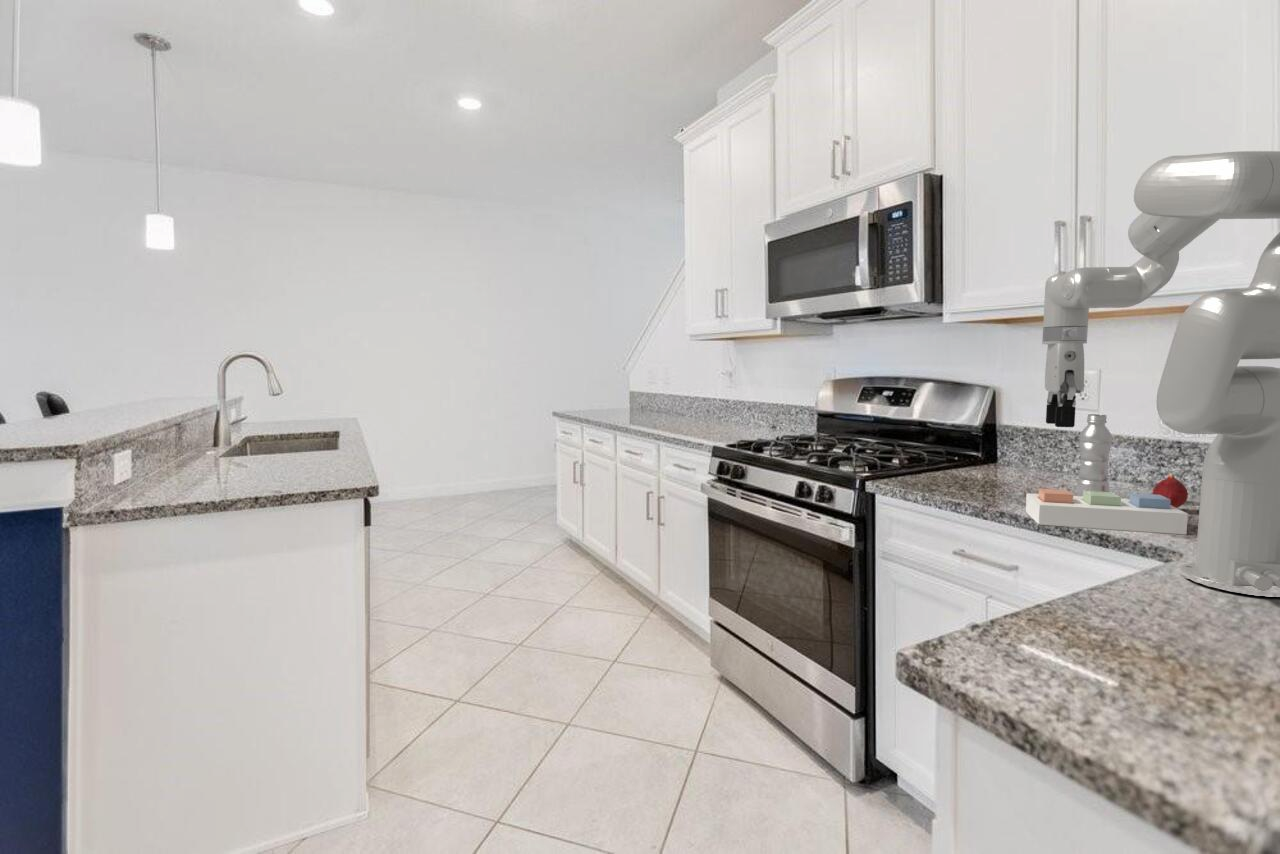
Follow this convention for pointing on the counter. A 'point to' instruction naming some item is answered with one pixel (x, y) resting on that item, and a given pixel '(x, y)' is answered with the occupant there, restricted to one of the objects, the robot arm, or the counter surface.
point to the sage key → (1101, 498)
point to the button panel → (1107, 516)
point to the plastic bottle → (1094, 455)
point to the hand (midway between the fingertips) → (1059, 424)
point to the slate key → (1149, 501)
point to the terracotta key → (1055, 496)
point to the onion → (1172, 491)
